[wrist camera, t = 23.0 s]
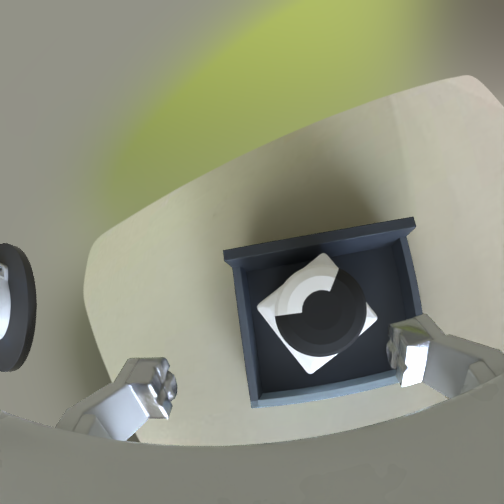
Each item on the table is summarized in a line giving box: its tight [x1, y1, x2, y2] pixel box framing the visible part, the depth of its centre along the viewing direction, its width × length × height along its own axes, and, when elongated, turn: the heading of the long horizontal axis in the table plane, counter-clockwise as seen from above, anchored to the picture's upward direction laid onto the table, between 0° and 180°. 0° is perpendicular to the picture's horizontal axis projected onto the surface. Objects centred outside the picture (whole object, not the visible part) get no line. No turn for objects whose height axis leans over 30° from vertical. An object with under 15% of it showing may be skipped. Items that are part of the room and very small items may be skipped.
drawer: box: [223, 217, 423, 408], centre depth 27 cm, size 15×18×8 cm
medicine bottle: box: [257, 253, 377, 374], centre depth 23 cm, size 7×7×12 cm
